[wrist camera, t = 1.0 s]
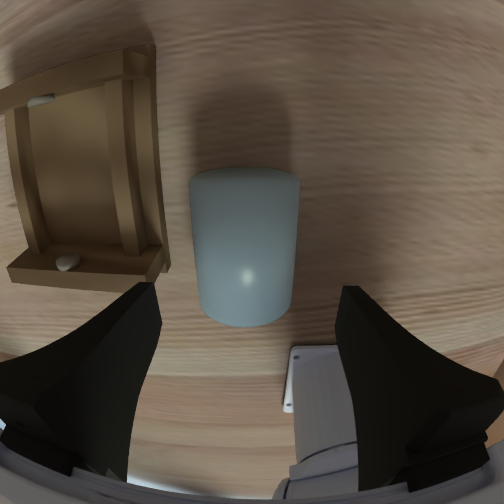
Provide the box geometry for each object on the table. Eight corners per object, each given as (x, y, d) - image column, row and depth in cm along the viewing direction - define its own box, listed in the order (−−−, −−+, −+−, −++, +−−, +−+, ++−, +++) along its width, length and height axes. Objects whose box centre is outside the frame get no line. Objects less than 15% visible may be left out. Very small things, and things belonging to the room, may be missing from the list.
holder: (171, 264, 20) (151, 306, 16) (46, 260, 20) (15, 292, 16) (155, 46, 14) (123, 32, 10) (17, 84, 14) (-27, 90, 10)
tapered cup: (294, 276, 20) (287, 332, 15) (213, 268, 21) (186, 319, 16) (301, 169, 17) (298, 199, 12) (208, 165, 17) (170, 192, 13)
